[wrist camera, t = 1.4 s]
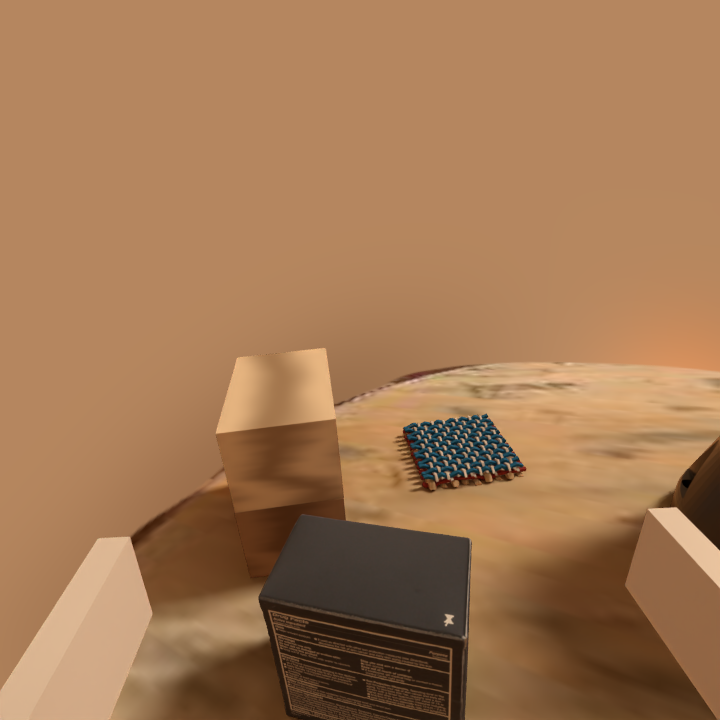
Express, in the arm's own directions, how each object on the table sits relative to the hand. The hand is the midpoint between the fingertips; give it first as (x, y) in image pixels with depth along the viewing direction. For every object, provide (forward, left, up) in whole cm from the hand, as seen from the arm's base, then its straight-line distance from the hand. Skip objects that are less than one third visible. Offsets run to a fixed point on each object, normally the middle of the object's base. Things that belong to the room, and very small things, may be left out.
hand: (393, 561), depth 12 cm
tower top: (+5, -24, -14) cm, 28 cm away
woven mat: (-12, -29, -21) cm, 38 cm away
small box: (0, -8, -21) cm, 23 cm away
